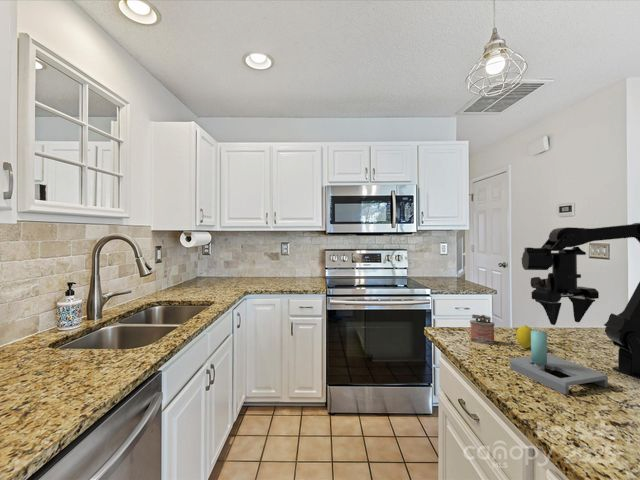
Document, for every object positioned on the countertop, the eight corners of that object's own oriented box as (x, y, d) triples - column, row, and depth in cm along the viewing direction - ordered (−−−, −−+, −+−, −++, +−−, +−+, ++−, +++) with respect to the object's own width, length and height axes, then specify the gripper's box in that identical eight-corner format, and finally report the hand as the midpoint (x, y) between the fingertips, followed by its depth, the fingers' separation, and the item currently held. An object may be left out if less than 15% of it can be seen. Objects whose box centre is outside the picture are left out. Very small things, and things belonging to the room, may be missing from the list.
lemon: (517, 344, 112) (517, 322, 112) (536, 347, 108) (535, 324, 108) (515, 349, 108) (514, 325, 108) (534, 352, 104) (534, 328, 104)
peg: (538, 371, 90) (537, 329, 90) (553, 377, 86) (552, 333, 86) (526, 373, 89) (525, 330, 89) (540, 379, 84) (539, 335, 84)
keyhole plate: (547, 363, 95) (547, 353, 95) (607, 386, 80) (607, 375, 80) (510, 368, 92) (510, 358, 92) (565, 394, 76) (565, 382, 76)
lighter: (495, 342, 115) (494, 315, 115) (494, 345, 112) (493, 317, 112) (470, 339, 119) (470, 312, 119) (469, 341, 116) (469, 314, 116)
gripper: (561, 266, 102) (562, 314, 102) (515, 269, 97) (516, 319, 97) (599, 269, 91) (600, 323, 91) (549, 272, 86) (550, 329, 86)
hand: (565, 323), depth 92 cm, fingers open, 9 cm apart
